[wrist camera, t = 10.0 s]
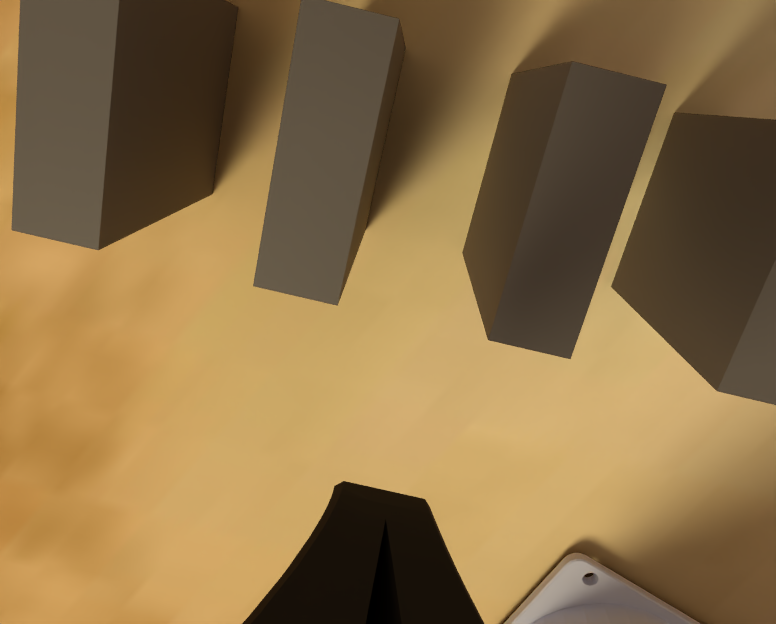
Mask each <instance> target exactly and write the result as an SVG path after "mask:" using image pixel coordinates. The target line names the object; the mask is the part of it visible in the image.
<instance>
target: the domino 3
mask: <svg viewBox="0 0 776 624" xmlns="http://www.w3.org/2000/svg"><path fill="white" fill-rule="evenodd" d="M665 88H666V84H662V83H658V82H654V81H650V80H646V79H642V78H638V77H634V76H630V75H626V74H622V73H618V72H614V71H609V70H605V69H601V68H597V67H593V66H589V65H585V64H581V63H577V62H573V61H572V62H567V63H562V64H557V65H553V66H548V67H543V68H538V69H534V70H529V71H524V72H519V73H515V74H511V78H510V82H509V85H508V89H507V93H506V96H505V100H504V104H503V107H502V111H501V114H500V118H499V122H498V125H497V129H496V133H495V136H494V140H493V144H492V147H491V151H490V154H489V158H488V162H487V165H486V169H485V173H484V176H483V180H482V184H481V187H480V191H479V194H478V198H477V202H476V205H475V209H474V213H473V216H472V220H471V224H470V227H469V231H468V234H467V238H466V242H465V245H464V249H463V257H464V260H465V263H466V267H467V270H468V274H469V277H470V280H471V284H472V287H473V291H474V294H475V297H476V301H477V304H478V307H479V311H480V314H481V318H482V321H483V324H484V328H485V331H486V335H487V338H488V340H490V341H494V342H499V343H503V344H507V345H512V346H516V347H520V348H525V349H529V350H533V351H538V352H542V353H546V354H551V355H555V356H559V357H564V358H568V359H571V356H572V353H573V350H574V347H575V345H576V342H577V339H578V336H579V333H580V330H581V327H582V325H583V322H584V319H585V316H586V313H587V310H588V308H589V305H590V302H591V299H592V296H593V293H594V290H595V288H596V285H597V282H598V279H599V276H600V273H601V271H602V268H603V265H604V262H605V259H606V256H607V253H608V251H609V248H610V245H611V242H612V239H613V236H614V234H615V231H616V228H617V225H618V222H619V219H620V216H621V214H622V211H623V208H624V205H625V202H626V199H627V197H628V194H629V191H630V188H631V185H632V182H633V179H634V177H635V174H636V171H637V168H638V165H639V162H640V160H641V157H642V154H643V151H644V148H645V145H646V142H647V140H648V137H649V134H650V131H651V128H652V125H653V122H654V120H655V117H656V114H657V111H658V108H659V105H660V103H661V100H662V97H663V94H664V91H665Z"/></svg>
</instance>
